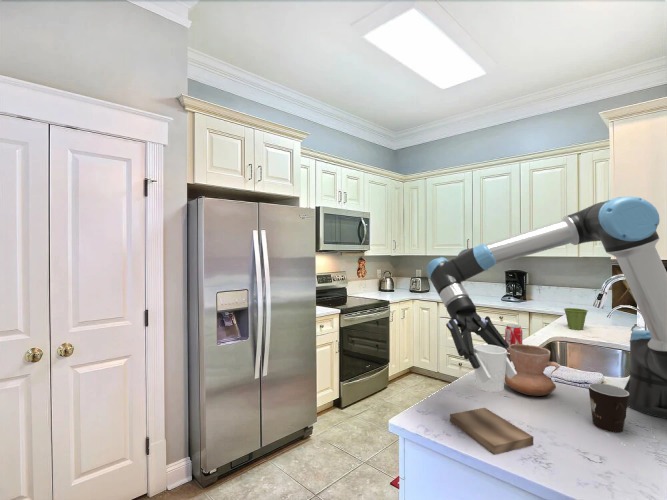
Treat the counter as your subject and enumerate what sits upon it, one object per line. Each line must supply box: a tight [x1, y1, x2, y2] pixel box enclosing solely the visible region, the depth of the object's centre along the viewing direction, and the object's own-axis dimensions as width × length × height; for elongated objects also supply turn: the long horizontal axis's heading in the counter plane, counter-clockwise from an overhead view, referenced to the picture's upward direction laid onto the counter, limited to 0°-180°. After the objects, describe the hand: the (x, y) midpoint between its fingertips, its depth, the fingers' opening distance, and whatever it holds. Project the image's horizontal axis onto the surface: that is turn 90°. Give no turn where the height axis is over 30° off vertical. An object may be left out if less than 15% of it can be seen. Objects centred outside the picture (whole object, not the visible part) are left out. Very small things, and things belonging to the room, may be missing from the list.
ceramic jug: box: [504, 343, 559, 397], centre depth 117 cm, size 18×14×14 cm
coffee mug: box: [588, 382, 629, 434], centre depth 92 cm, size 12×9×10 cm
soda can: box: [504, 323, 523, 353], centre depth 159 cm, size 7×7×12 cm
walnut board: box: [449, 407, 534, 455], centre depth 90 cm, size 12×16×2 cm
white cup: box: [473, 343, 508, 393], centre depth 90 cm, size 8×8×10 cm
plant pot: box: [563, 307, 589, 331], centre depth 204 cm, size 12×12×11 cm
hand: (500, 377), depth 87 cm, fingers closed on white cup, 8 cm apart
